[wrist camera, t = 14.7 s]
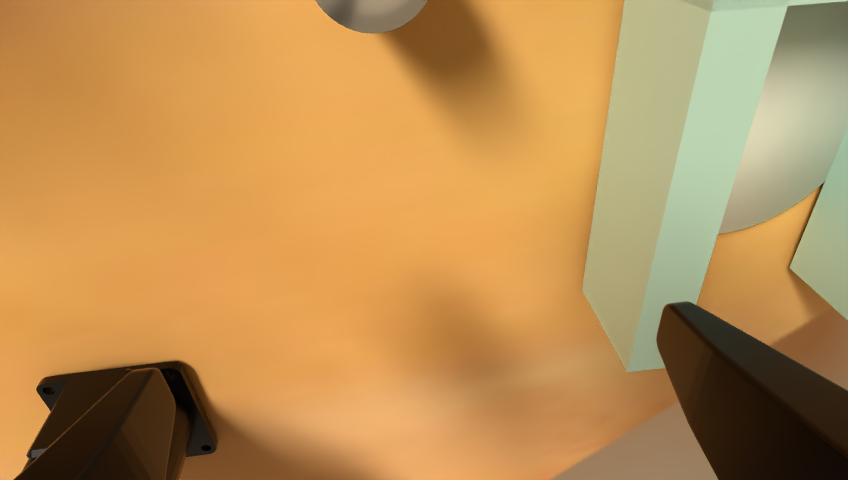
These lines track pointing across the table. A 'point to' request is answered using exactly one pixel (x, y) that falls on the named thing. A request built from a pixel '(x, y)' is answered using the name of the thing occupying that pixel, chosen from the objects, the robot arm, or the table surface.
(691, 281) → the c link
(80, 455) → the robot arm
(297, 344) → the table surface
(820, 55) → the cream oval dome
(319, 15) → the table surface
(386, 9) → the peg
